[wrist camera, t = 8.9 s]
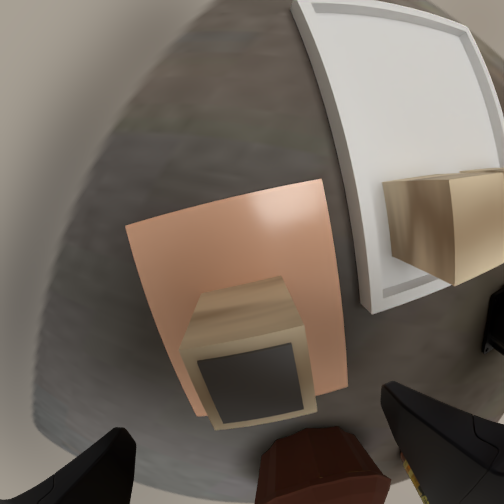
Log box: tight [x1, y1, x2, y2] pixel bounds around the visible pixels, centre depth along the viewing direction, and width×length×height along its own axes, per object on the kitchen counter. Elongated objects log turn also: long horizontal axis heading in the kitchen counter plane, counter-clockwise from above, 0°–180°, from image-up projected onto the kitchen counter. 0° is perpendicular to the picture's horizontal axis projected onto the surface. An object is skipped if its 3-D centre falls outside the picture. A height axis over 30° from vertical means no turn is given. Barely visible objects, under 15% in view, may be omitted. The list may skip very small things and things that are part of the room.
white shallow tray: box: [290, 0, 504, 314], centre depth 13 cm, size 20×16×2 cm
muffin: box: [255, 426, 391, 504], centre depth 15 cm, size 12×11×10 cm
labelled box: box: [179, 276, 317, 430], centre depth 12 cm, size 4×4×6 cm
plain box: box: [382, 173, 504, 286], centre depth 12 cm, size 4×4×6 cm
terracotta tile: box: [125, 179, 348, 417], centre depth 16 cm, size 14×11×1 cm
